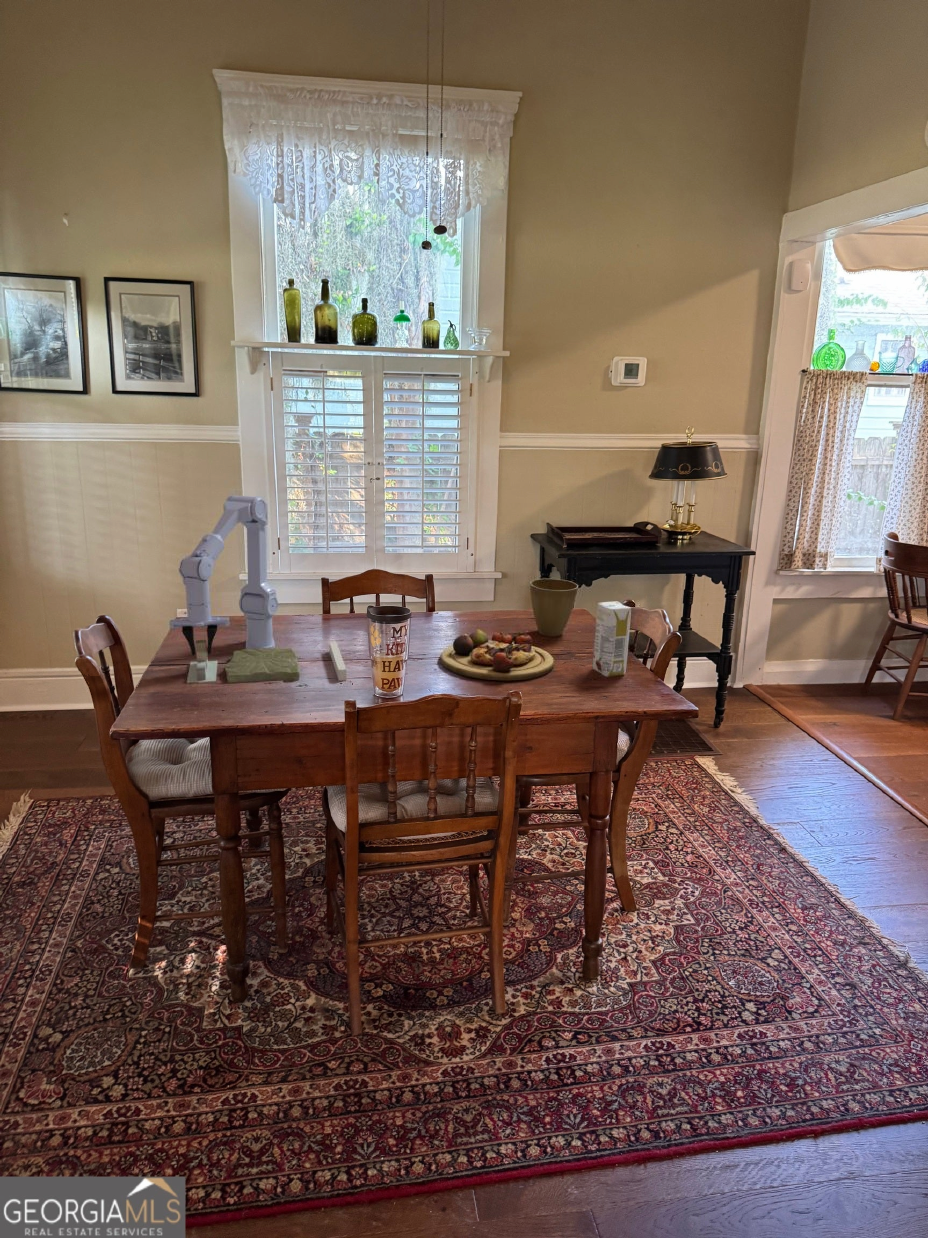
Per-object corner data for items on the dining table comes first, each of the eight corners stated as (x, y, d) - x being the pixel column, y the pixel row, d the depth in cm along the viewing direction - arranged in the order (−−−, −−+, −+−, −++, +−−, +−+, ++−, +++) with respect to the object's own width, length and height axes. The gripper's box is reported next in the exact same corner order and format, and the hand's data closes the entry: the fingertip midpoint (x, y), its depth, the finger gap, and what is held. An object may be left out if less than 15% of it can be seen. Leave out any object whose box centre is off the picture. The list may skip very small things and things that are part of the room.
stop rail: (329, 651, 232) (329, 641, 231) (336, 651, 232) (336, 641, 232) (338, 680, 210) (338, 669, 209) (346, 680, 210) (346, 669, 209)
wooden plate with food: (547, 688, 209) (550, 658, 207) (427, 675, 215) (428, 645, 213) (558, 653, 240) (560, 626, 238) (453, 643, 246) (454, 616, 244)
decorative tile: (295, 657, 228) (294, 645, 227) (300, 682, 209) (300, 669, 208) (225, 661, 223) (225, 649, 222) (225, 687, 205) (224, 673, 204)
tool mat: (190, 663, 219) (190, 662, 219) (217, 662, 221) (217, 660, 220) (186, 684, 204) (186, 682, 204) (215, 682, 206) (215, 680, 206)
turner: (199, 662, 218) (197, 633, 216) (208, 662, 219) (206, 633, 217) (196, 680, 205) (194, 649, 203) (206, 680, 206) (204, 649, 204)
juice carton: (605, 678, 217) (610, 610, 212) (588, 668, 225) (593, 601, 220) (629, 675, 220) (635, 607, 215) (612, 665, 228) (617, 600, 222)
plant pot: (522, 637, 251) (525, 586, 247) (533, 624, 265) (535, 576, 261) (570, 642, 247) (573, 591, 243) (578, 629, 261) (581, 581, 256)
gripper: (166, 608, 202) (170, 659, 205) (227, 605, 205) (230, 656, 209) (169, 600, 208) (173, 651, 212) (228, 598, 212) (230, 648, 215)
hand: (201, 653), depth 211 cm, fingers open, 3 cm apart
